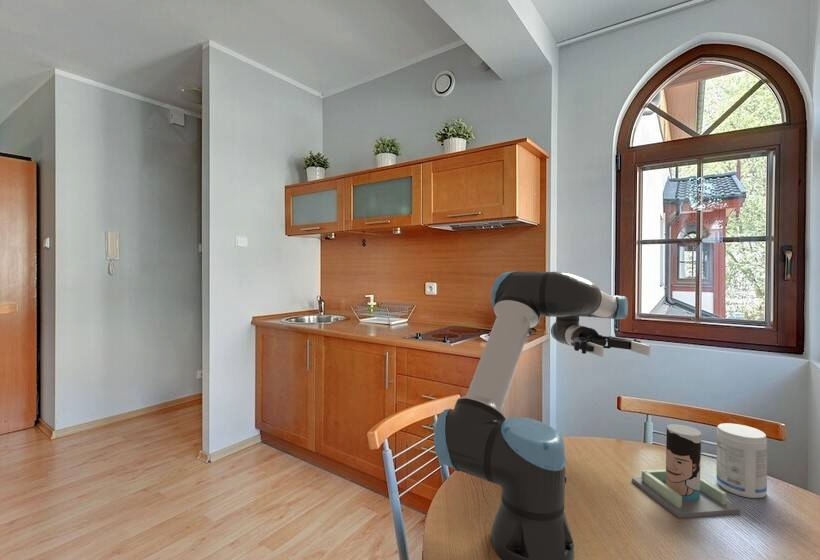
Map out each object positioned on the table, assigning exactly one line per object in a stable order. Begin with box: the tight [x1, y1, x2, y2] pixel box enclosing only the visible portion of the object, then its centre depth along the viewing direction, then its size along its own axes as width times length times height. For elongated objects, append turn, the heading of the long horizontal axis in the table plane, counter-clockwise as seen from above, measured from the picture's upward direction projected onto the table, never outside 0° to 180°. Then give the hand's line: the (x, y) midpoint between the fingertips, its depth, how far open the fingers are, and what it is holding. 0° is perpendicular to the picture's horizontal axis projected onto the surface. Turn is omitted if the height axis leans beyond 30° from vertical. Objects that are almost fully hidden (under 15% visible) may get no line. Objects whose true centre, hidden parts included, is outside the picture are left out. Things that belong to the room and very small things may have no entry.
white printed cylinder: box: [665, 423, 702, 500], centre depth 94 cm, size 7×7×15 cm
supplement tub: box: [716, 422, 768, 499], centre depth 97 cm, size 10×10×15 cm
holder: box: [631, 468, 741, 519], centre depth 94 cm, size 15×15×4 cm
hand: (625, 351), depth 107 cm, fingers open, 13 cm apart
